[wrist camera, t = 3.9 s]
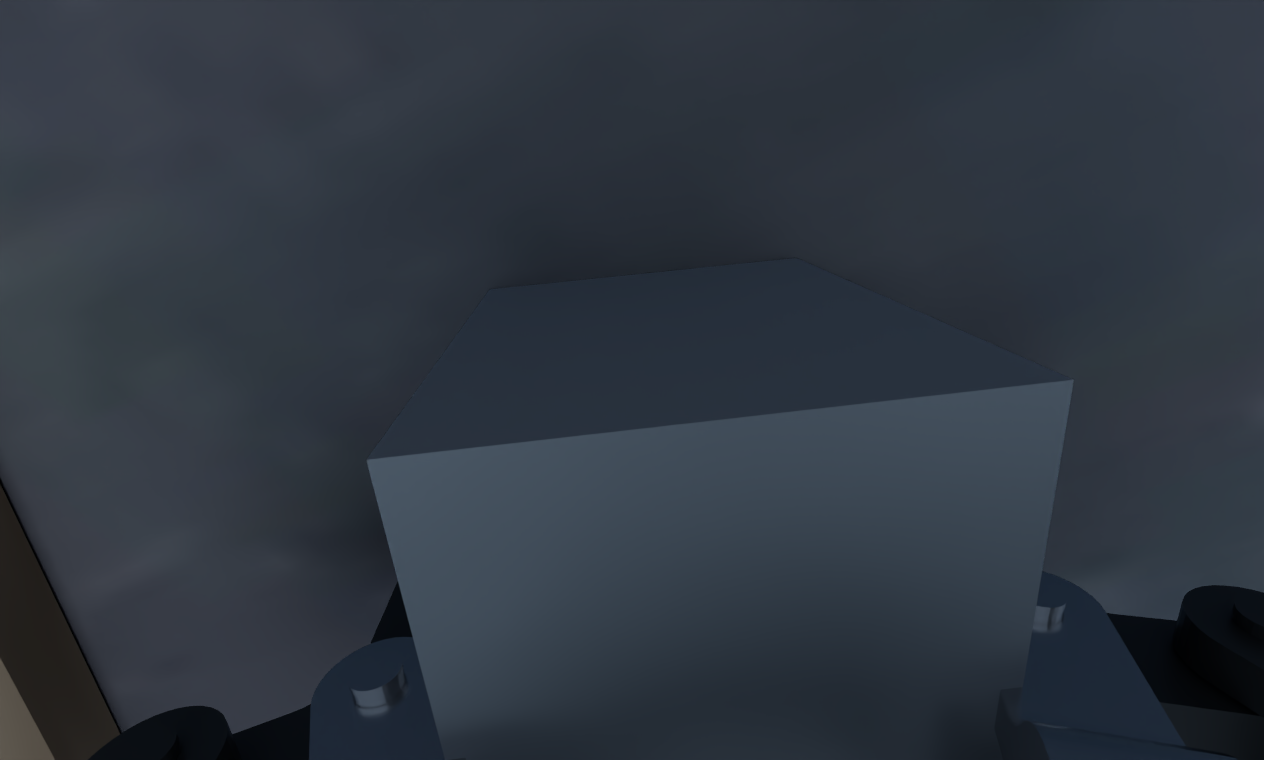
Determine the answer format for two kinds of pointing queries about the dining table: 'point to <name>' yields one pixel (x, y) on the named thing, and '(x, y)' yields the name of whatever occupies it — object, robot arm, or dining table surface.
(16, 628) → the tray
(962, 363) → the grey rectangular block
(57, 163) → the dining table surface
